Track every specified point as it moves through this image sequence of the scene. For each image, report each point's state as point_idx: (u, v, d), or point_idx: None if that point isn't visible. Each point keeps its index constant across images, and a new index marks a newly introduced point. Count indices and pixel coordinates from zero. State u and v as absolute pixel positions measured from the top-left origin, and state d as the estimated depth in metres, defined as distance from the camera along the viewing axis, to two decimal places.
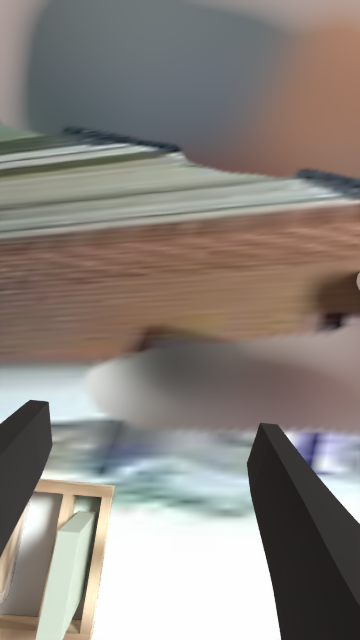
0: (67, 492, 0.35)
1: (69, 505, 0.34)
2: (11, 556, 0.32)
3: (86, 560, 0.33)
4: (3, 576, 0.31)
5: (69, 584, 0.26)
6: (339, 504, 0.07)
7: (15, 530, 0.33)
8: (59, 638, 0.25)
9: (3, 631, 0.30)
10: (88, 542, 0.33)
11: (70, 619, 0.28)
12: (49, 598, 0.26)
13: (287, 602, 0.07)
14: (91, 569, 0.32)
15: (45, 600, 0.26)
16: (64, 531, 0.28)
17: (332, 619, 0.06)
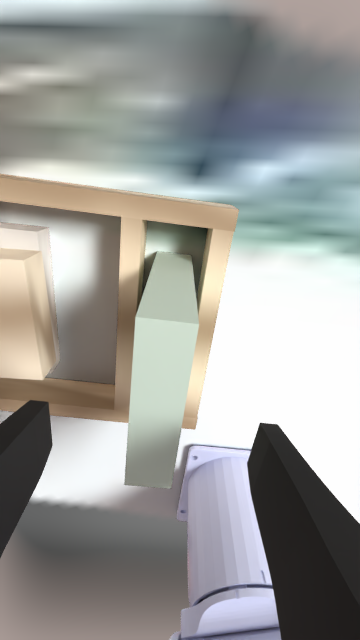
0: (129, 214, 0.14)
1: (138, 242, 0.15)
2: (47, 320, 0.17)
3: None
4: (44, 349, 0.17)
5: (181, 415, 0.11)
6: (339, 504, 0.07)
7: (35, 282, 0.16)
8: (170, 479, 0.13)
9: (66, 407, 0.19)
10: None
11: None
12: (140, 432, 0.11)
13: (287, 602, 0.07)
14: (195, 348, 0.17)
15: (131, 434, 0.12)
16: (154, 317, 0.09)
17: (332, 619, 0.06)
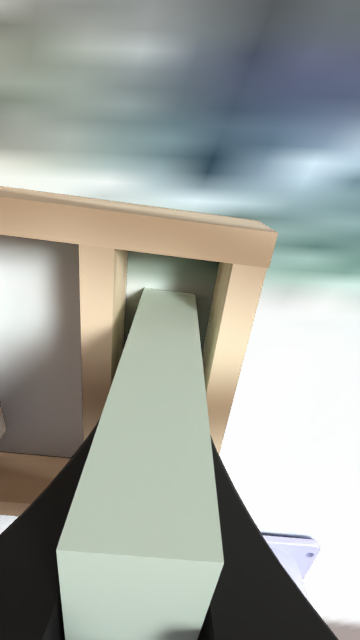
0: (92, 240, 0.08)
1: (110, 285, 0.09)
2: None
3: None
4: None
5: None
6: (234, 495, 0.07)
7: None
8: None
9: (17, 505, 0.14)
10: None
11: None
12: None
13: None
14: None
15: None
16: (107, 543, 0.04)
17: None
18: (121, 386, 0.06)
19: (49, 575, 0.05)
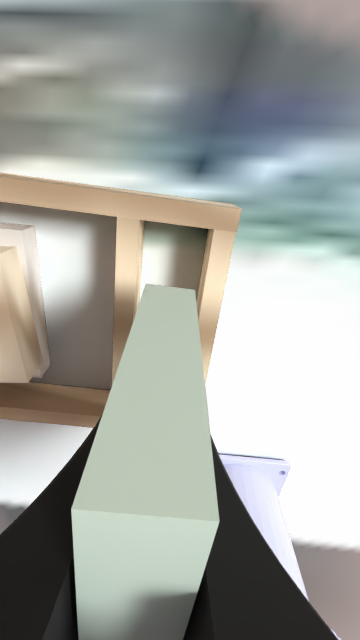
0: (125, 214, 0.13)
1: (135, 243, 0.14)
2: (29, 319, 0.16)
3: None
4: (27, 350, 0.16)
5: (179, 636, 0.06)
6: (234, 495, 0.07)
7: (11, 280, 0.15)
8: None
9: (61, 415, 0.19)
10: None
11: None
12: None
13: None
14: None
15: None
16: (116, 504, 0.04)
17: (198, 610, 0.05)
18: (125, 373, 0.07)
19: (49, 575, 0.05)
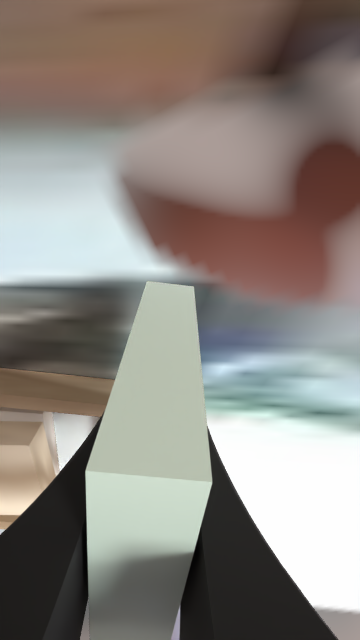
0: None
1: None
2: (50, 466, 0.22)
3: None
4: None
5: (178, 594, 0.06)
6: (234, 495, 0.07)
7: (39, 450, 0.20)
8: None
9: None
10: None
11: None
12: (109, 614, 0.07)
13: (184, 595, 0.07)
14: None
15: (96, 616, 0.07)
16: (124, 468, 0.05)
17: (198, 610, 0.05)
18: (129, 361, 0.07)
19: (49, 575, 0.05)
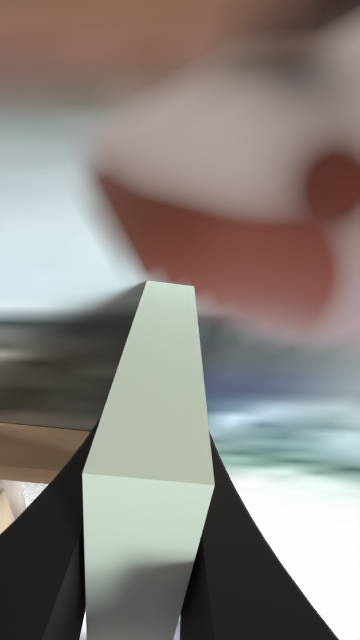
0: None
1: None
2: None
3: None
4: None
5: (179, 602, 0.06)
6: (234, 495, 0.07)
7: None
8: None
9: None
10: None
11: None
12: (107, 622, 0.07)
13: None
14: None
15: (93, 624, 0.07)
16: (122, 470, 0.05)
17: (198, 610, 0.05)
18: (129, 360, 0.07)
19: (49, 575, 0.05)
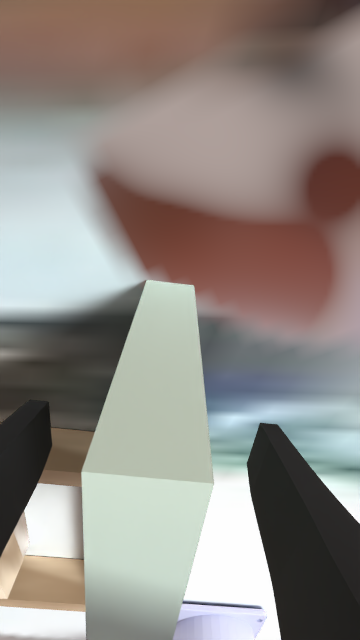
0: None
1: None
2: (10, 538, 0.18)
3: None
4: (7, 570, 0.17)
5: (178, 601, 0.06)
6: (339, 504, 0.07)
7: None
8: None
9: (45, 603, 0.20)
10: None
11: None
12: (106, 621, 0.07)
13: (287, 602, 0.07)
14: None
15: (93, 623, 0.07)
16: (121, 469, 0.05)
17: (332, 619, 0.06)
18: (128, 359, 0.07)
19: None
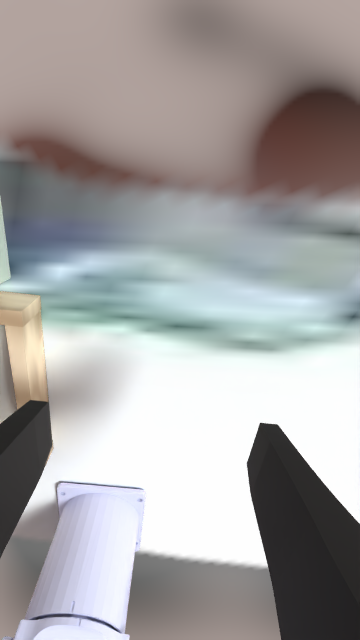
0: None
1: None
2: None
3: None
4: None
5: None
6: (339, 504, 0.07)
7: None
8: None
9: None
10: None
11: None
12: None
13: (287, 602, 0.07)
14: None
15: None
16: None
17: (332, 619, 0.06)
18: None
19: None
